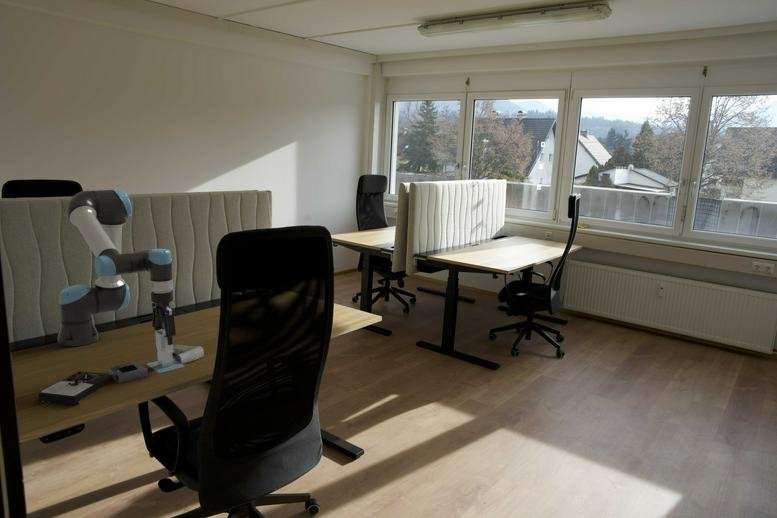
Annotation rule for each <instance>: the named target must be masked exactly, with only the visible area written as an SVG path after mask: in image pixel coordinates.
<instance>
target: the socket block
mask: <svg viewBox="0 0 777 518" xmlns="http://www.w3.org/2000/svg"><path fill="white" fill-rule="evenodd" d="M148 369H149V368H146V367H145V366H144V365H142V363H139V362H138V361H134V362H129V363H124V364H121V365H116V366H111V367H109V368H108V374H111V375H112V377H113V380H114V381H116V382H117V383H118V384H122V383H126V382H130V381H134V380H137V379H138V380H139V379H142V378H146V377H148V376H149V371H148Z"/></svg>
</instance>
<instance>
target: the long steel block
mask: <svg viewBox="0 0 777 518" xmlns="http://www.w3.org/2000/svg"><path fill="white" fill-rule="evenodd" d="M164 336H166V333H165V329H163V331H158V332H156V334H155V339H156V338H157V347H156V352H157V353H156V354H157V355H156V356H157V361H158V365H159V366H161V367H162V368H163V367H167V366H171V365H173V359H174V358H173V353H167V354H166V351H165V337H164Z"/></svg>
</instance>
